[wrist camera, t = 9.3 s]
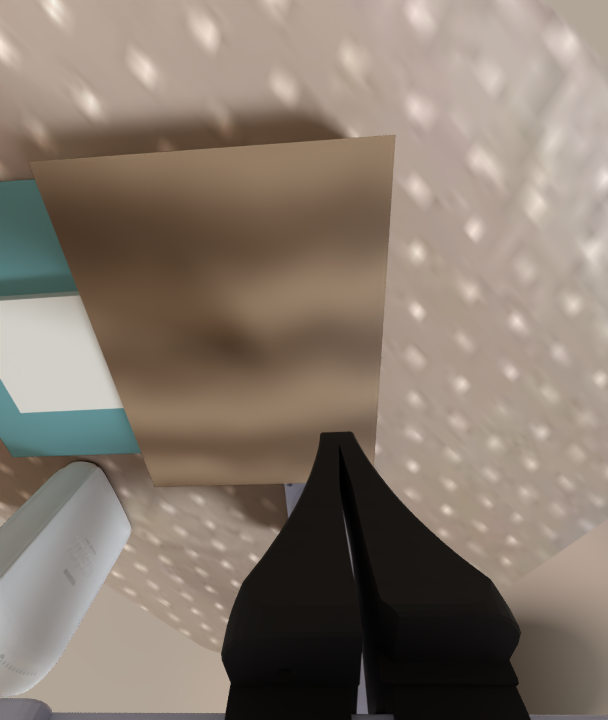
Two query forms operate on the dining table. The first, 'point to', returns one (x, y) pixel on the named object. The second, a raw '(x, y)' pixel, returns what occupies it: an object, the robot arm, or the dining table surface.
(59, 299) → the coaster
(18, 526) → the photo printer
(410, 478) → the dining table surface
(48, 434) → the mat
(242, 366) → the wood grain panel
